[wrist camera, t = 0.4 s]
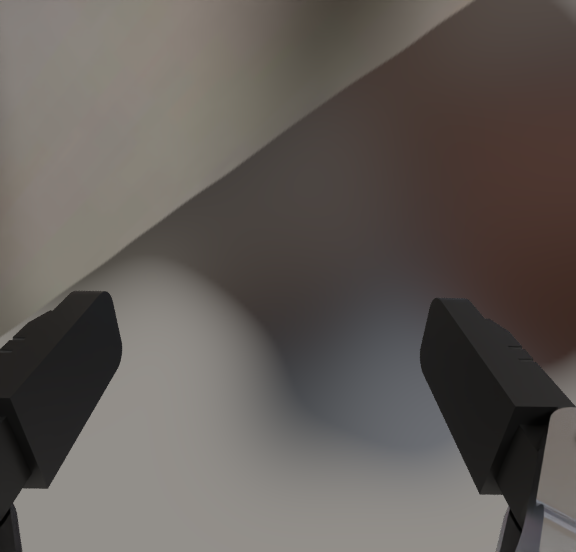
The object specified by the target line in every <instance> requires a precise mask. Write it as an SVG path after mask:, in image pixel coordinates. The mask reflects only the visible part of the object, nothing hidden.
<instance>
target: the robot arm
mask: <svg viewBox="0 0 576 552" xmlns="http://www.w3.org/2000/svg"><path fill="white" fill-rule="evenodd" d="M121 356H122V342H121V337H120V333H119V328H118V323H117V319H116V314H115V310H114V305H113V301H112V298H111V296H110V294H109V293H108V292H106V291H73V292H71V293H70V294H69V295H68V296H67V297H66V298H65V299H64V300H63V301H62V302H61V303H60V304H59V305H58V306H57V307H56V308H55V309H54V310H53V311H49V312H46V313H45V314H43V315H41V316H40V317H37V318H36V319H34V320H32V321H30V322H29V323H27V324H26V325H25V326H24V327H23V328H22V329H21V330H20V331H19V332H18V333H17V334H16V335H15V336H14V337H13V340H9V341H8V342H7V343H6V344H5V345H4V346H3V347H2V348H1V349H0V552H22V545H21V539H20V532H19V524H18V517H17V512H16V508H15V506H14V504H13V502H14V500H15V499H16V497H17V495H18V494H19V493H20V491H21V489H22V488H42V489H47V488H48V487H49V486H50V484H51V482H52V480H53V479H54V477H55V475H56V474H57V472H58V470H59V468H60V466H61V465H62V463H63V462H64V460H65V458H66V456H67V455H68V453H69V451H70V450H71V448H72V446H73V444H74V443H75V441H76V439H77V437H78V436H79V434H80V432H81V431H82V429H83V427H84V425H85V424H86V422H87V420H88V419H89V417H90V415H91V413H92V412H93V410H94V408H95V407H96V405H97V403H98V401H99V400H100V398H101V396H102V394H103V393H104V391H105V389H106V388H107V386H108V384H109V382H110V381H111V379H112V377H113V375H114V374H115V372H116V370H117V369H118V367H119V364H120V361H121ZM420 363H421V368H422V372H423V374H424V376H425V379H426V381H427V383H428V385H429V387H430V389H431V391H432V394H433V396H434V398H435V400H436V402H437V404H438V406H439V408H440V411H441V413H442V415H443V417H444V419H445V421H446V423H447V426H448V428H449V430H450V432H451V434H452V436H453V438H454V440H455V443H456V445H457V447H458V449H459V451H460V453H461V455H462V457H463V460H464V462H465V464H466V466H467V468H468V470H469V472H470V474H471V477H472V479H473V481H474V483H475V485H476V487H477V489H478V492H479V494H493V495H496V494H497V495H499V494H501V495H503V496H504V498H505V499H506V501H507V503H508V505H509V506H508V508H507V510H506V513H505V515H504V519H503V523H502V527H501V531H500V535H499V540H498V544H497V548H496V552H576V406H575V405H574V404H573V403H572V402H571V401H570V400H569V399H568V397H567V396H566V395H565V394H564V393H563V392H562V391H561V390H560V388H559V387H558V386H557V385H556V384H555V383H554V382H553V381H552V379H551V378H550V377H549V376H548V375H547V374H546V373H545V372H544V371H543V369H541V367H540V366H539V365H538V364H537V363H536V362H533V358H532V357H531V356H530V355H529V354H528V352H527V351H526V350H525V349H522V346H521V345H520V343H519V342H518V341H517V340H516V339H515V338H514V337H513V336H512V334H511V333H510V332H509V331H507V330H506V329H504V328H502V327H501V326H500V325H498V324H497V323H495V322H493V321H492V320H490V319H485V318H484V317H483V316H482V315H481V314H480V313H479V311H478V310H477V309H476V308H475V307H474V305H473V304H472V303H471V302H470V301H469V300H468V299H465V298H464V299H463V298H461V299H460V298H435V299H434V300H433V301H432V303H431V305H430V309H429V313H428V318H427V322H426V326H425V331H424V336H423V340H422V344H421V349H420Z"/></svg>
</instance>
